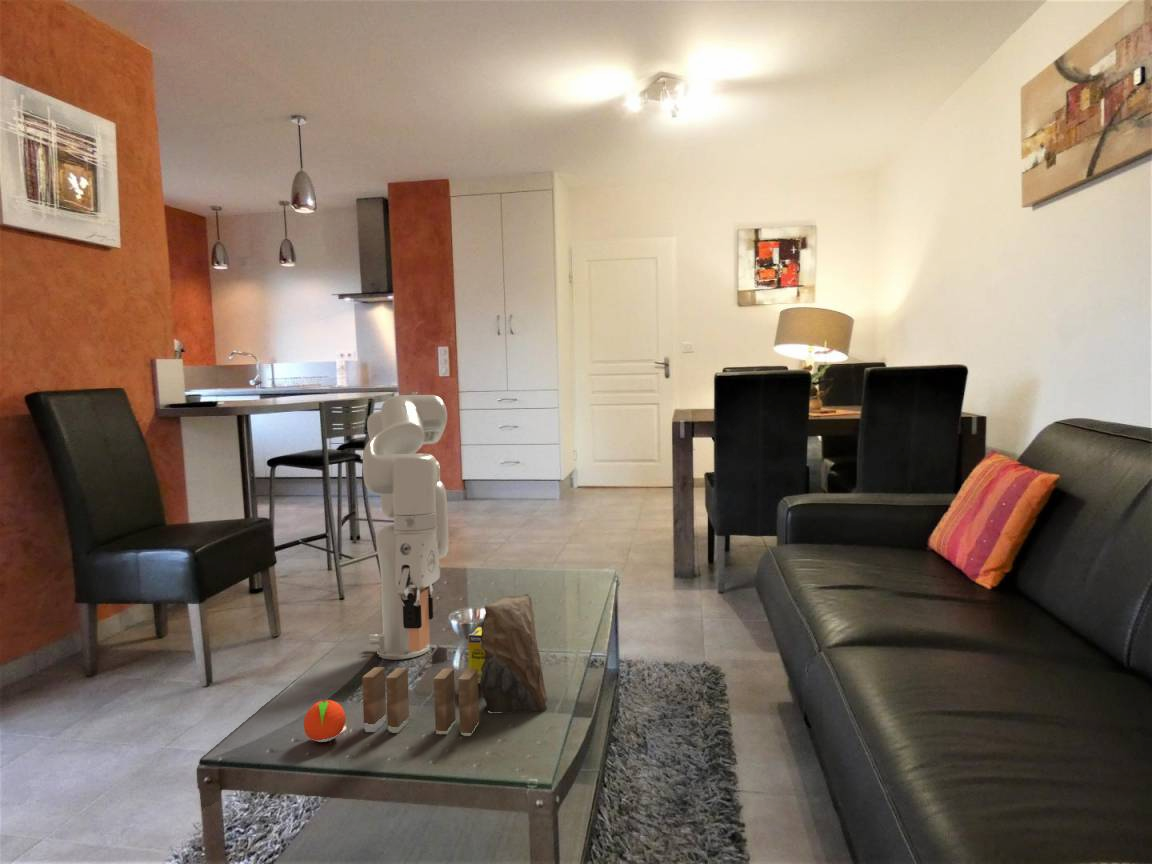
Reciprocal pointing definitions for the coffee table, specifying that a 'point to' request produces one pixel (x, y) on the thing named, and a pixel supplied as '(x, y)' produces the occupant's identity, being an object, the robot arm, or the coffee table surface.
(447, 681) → the domino
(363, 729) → the coffee table surface
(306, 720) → the clementine
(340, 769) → the coffee table surface
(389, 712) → the domino
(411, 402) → the robot arm
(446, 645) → the coffee table surface
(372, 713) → the domino
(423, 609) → the domino
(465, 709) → the domino
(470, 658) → the supplement box
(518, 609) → the brown rough lump
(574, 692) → the coffee table surface
